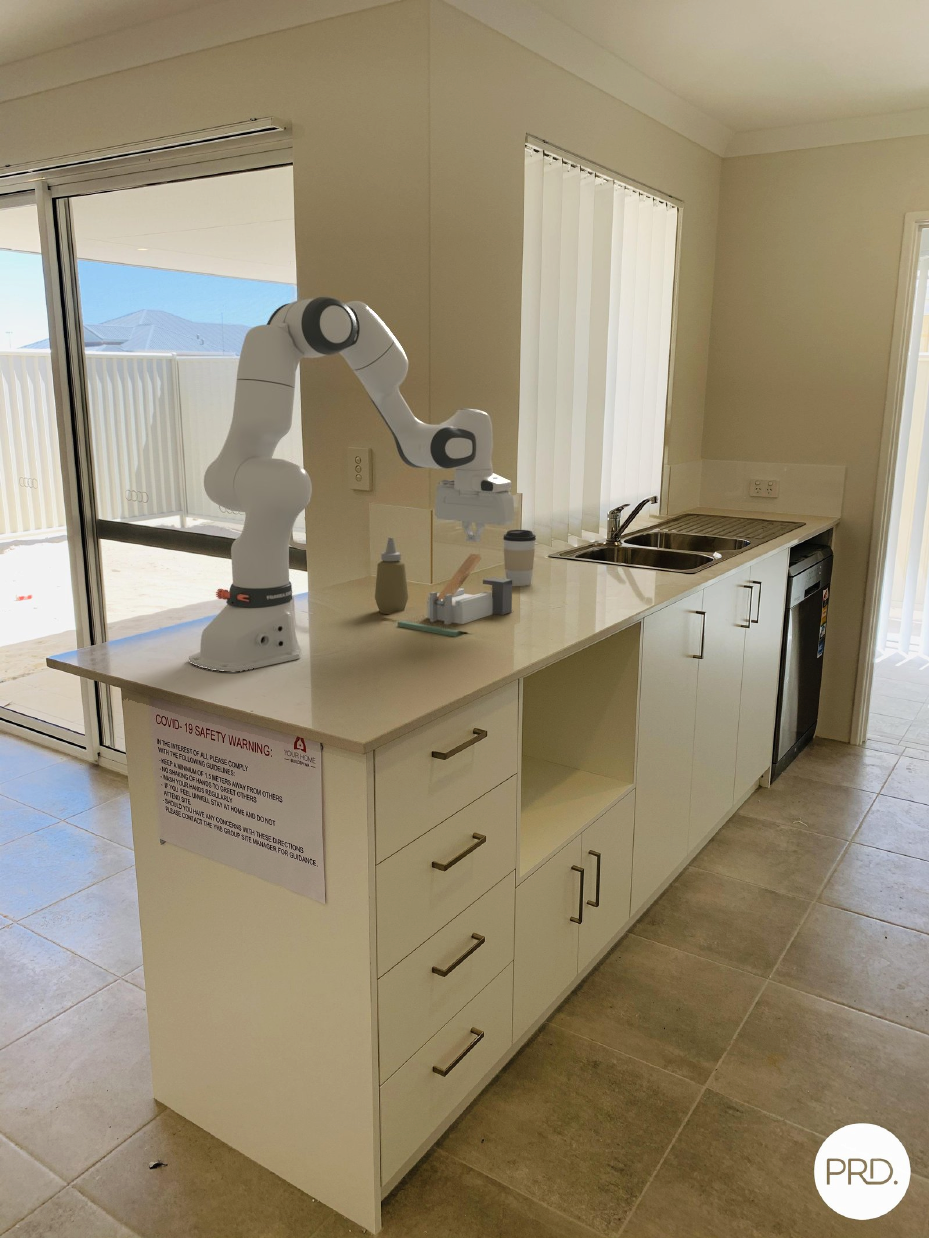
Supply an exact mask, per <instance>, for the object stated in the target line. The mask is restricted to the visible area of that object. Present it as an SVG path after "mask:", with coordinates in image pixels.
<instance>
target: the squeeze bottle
mask: <svg viewBox="0 0 929 1238" xmlns="http://www.w3.org/2000/svg"><path fill="white" fill-rule="evenodd" d="M394 539H395V538H394V537H388V538H387V543H386V548H385V549H386V550H385V551H383V552H381V553H380V554H381V555H380V557H381V558H380V559H381V561H379V562H378V563H377V568H376V581H375V592H374V593H375V594H374V599H375V603H376V605H377V608H378V610H379V613H381V614H383V615H384V614H385V615H392V614H393V615H394V614H396V613H401V612H403V611H405V609H406V605H407V603H408V600H409V591H408V583H407V574H406V573H407V572H406V566H405V562H404V561H402V556H401V555H402V554H401V552H399V551H397V549H396V545H395V544H396V543H395V540H394Z"/></svg>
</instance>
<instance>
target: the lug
mask: <svg viewBox="0 0 929 1238" xmlns="http://www.w3.org/2000/svg"><path fill="white" fill-rule="evenodd" d="M482 584H483V585H488V586H491V593H492V598H493V601H492V615H497V616H498V615H501V616H505V615H506V614H507V615H508V614H511V613H513V609H512V608H513V607H512V606H513V586H512V580H511V579H506V578H505V577H503V578H502V577H494V576H491V577H488V578H484V579H482Z"/></svg>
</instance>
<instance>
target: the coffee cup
mask: <svg viewBox="0 0 929 1238" xmlns="http://www.w3.org/2000/svg"><path fill="white" fill-rule="evenodd" d="M536 536H537V535H535V534H534V533H533V531H531V530H528V529H510V530H507V532H506V533H505V534H504V535H503V538H502V539H503V561H504V562H503V563H504V570H505V579H511V580H512V587H527V586H530V585H529V584H532V577H533V569H534V563H535V560H534V559H535V550H536V549H535V545H536V540H537V539H536ZM526 585H527V586H526Z"/></svg>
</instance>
